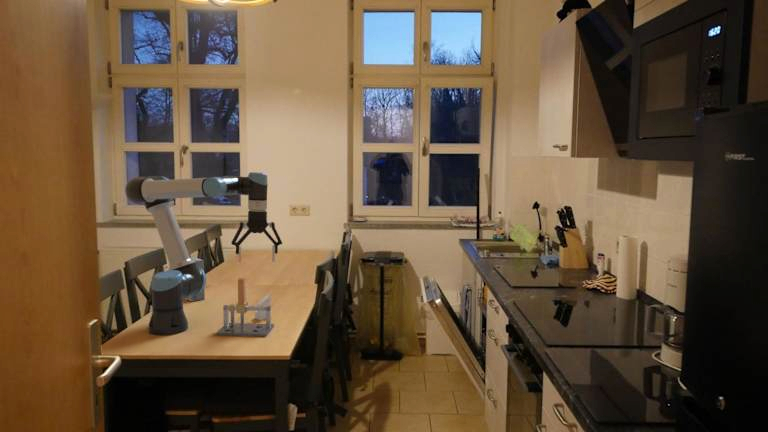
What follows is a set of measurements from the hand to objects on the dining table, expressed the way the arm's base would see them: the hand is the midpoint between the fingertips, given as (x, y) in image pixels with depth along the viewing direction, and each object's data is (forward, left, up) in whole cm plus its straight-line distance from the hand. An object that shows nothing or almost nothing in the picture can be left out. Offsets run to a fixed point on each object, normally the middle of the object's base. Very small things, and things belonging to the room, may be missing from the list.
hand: (256, 261), depth 225 cm
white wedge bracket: (-1, +13, -28) cm, 31 cm away
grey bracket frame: (-3, -4, -26) cm, 27 cm away
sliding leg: (-5, -4, -26) cm, 27 cm away
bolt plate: (-3, -6, -28) cm, 28 cm away
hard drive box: (-46, +45, -28) cm, 70 cm away
